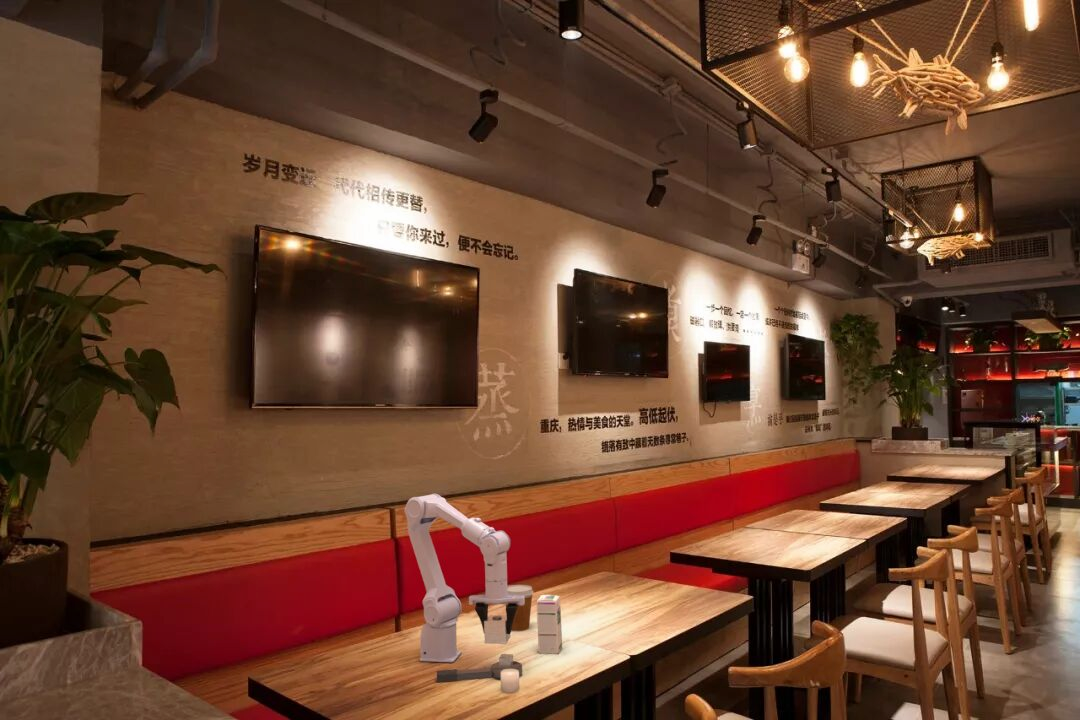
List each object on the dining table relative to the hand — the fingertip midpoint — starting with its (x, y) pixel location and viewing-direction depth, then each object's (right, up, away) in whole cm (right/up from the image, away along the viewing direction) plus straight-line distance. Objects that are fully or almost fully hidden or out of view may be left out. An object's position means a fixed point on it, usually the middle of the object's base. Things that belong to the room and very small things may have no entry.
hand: (497, 632), depth 182 cm
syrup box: (+14, -10, +12) cm, 21 cm away
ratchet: (-4, -9, -5) cm, 11 cm away
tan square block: (0, -2, 0) cm, 2 cm away
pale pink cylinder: (+4, -8, -14) cm, 17 cm away
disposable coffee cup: (+5, -12, +33) cm, 35 cm away
